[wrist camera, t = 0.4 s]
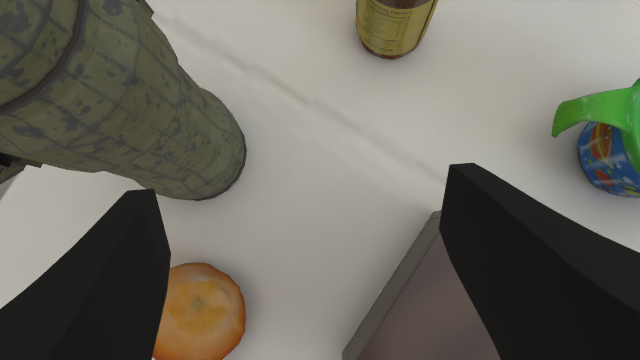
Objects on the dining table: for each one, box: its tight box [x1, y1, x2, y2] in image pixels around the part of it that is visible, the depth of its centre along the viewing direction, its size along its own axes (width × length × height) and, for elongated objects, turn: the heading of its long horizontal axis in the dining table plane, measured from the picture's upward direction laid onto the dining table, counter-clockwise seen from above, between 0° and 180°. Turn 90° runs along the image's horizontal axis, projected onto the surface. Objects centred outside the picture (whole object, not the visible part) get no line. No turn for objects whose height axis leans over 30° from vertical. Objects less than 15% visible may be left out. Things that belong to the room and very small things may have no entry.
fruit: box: [152, 263, 246, 360], centre depth 36 cm, size 8×8×8 cm
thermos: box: [0, 0, 247, 201], centre depth 24 cm, size 9×12×35 cm
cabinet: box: [342, 210, 501, 360], centre depth 35 cm, size 13×14×8 cm
